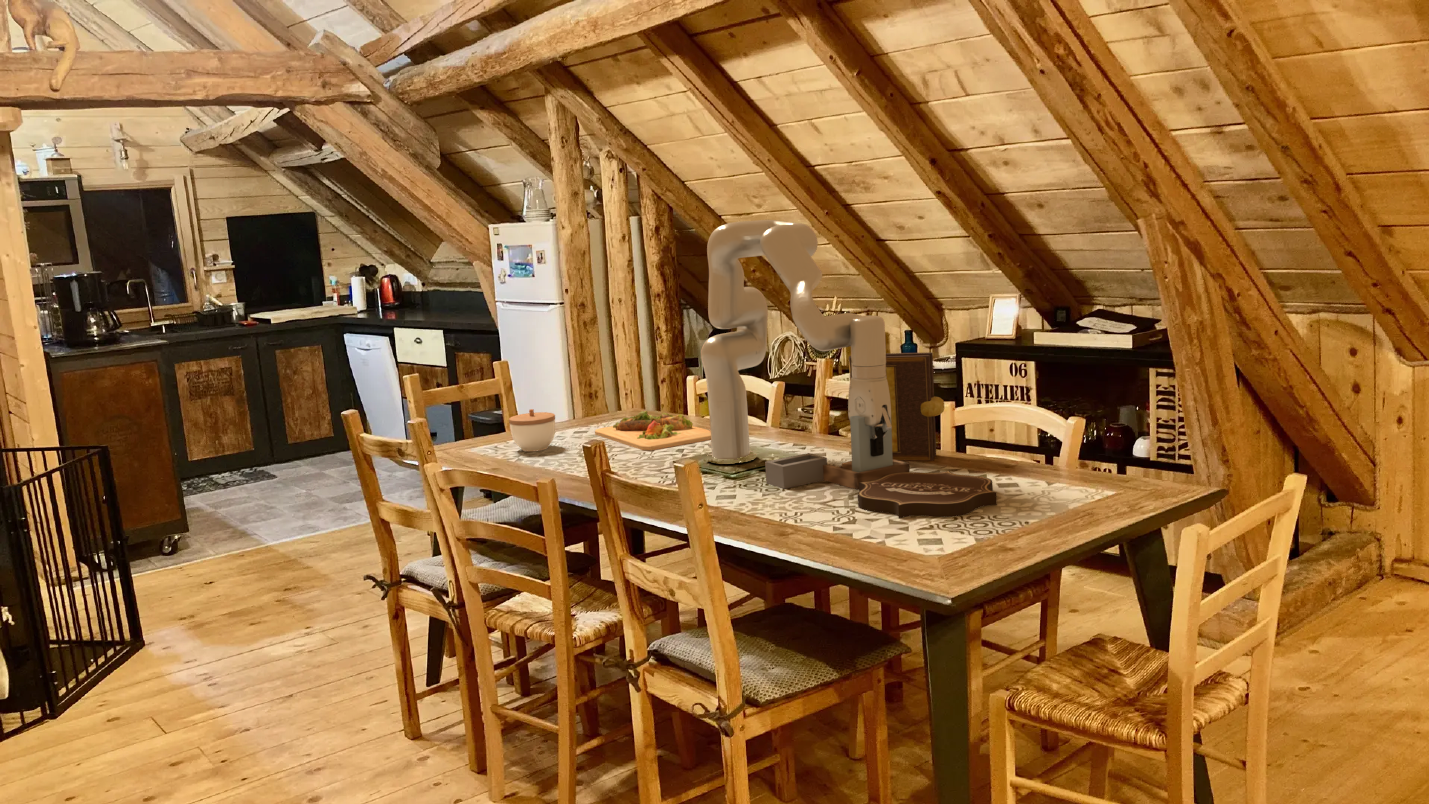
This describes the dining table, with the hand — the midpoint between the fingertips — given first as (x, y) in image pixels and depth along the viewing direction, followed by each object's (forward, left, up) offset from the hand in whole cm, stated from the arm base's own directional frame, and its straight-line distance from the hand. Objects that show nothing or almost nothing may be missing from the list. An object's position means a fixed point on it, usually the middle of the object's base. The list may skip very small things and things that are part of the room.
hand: (871, 453), depth 258 cm
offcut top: (-4, 0, -5) cm, 7 cm away
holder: (-13, -12, -6) cm, 18 cm away
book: (-14, +19, -7) cm, 25 cm away
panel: (0, 0, -5) cm, 5 cm away
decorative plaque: (+20, -2, -7) cm, 21 cm away
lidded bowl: (-97, -42, -7) cm, 106 cm away
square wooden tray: (-3, 0, -6) cm, 7 cm away
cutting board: (-87, -10, -7) cm, 88 cm away
